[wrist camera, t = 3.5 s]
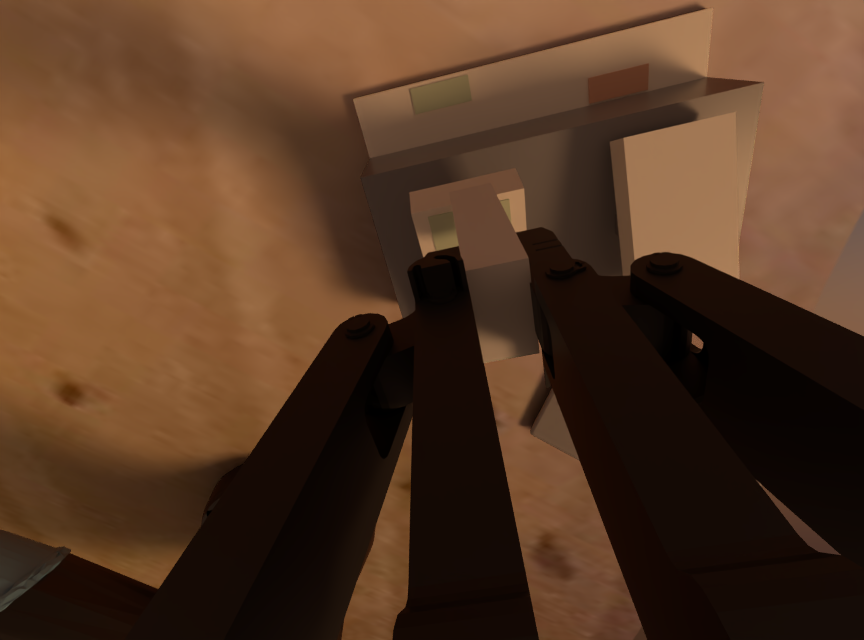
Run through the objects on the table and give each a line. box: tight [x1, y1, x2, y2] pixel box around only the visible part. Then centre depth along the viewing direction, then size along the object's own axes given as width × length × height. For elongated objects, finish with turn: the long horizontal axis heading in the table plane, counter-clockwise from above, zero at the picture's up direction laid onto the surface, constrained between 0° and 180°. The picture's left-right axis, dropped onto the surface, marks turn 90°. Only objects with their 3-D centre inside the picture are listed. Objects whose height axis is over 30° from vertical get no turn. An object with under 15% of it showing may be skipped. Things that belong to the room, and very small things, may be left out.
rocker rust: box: [610, 112, 739, 279], centre depth 20 cm, size 4×9×2 cm, turn 13°
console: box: [353, 8, 764, 318], centre depth 23 cm, size 18×13×6 cm
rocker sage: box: [409, 168, 527, 257], centre depth 21 cm, size 4×9×2 cm, turn 12°
